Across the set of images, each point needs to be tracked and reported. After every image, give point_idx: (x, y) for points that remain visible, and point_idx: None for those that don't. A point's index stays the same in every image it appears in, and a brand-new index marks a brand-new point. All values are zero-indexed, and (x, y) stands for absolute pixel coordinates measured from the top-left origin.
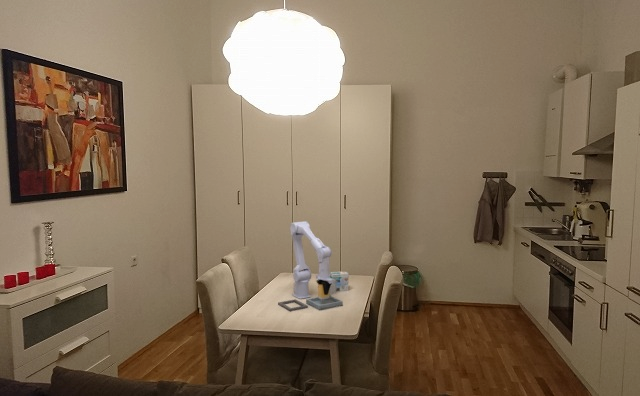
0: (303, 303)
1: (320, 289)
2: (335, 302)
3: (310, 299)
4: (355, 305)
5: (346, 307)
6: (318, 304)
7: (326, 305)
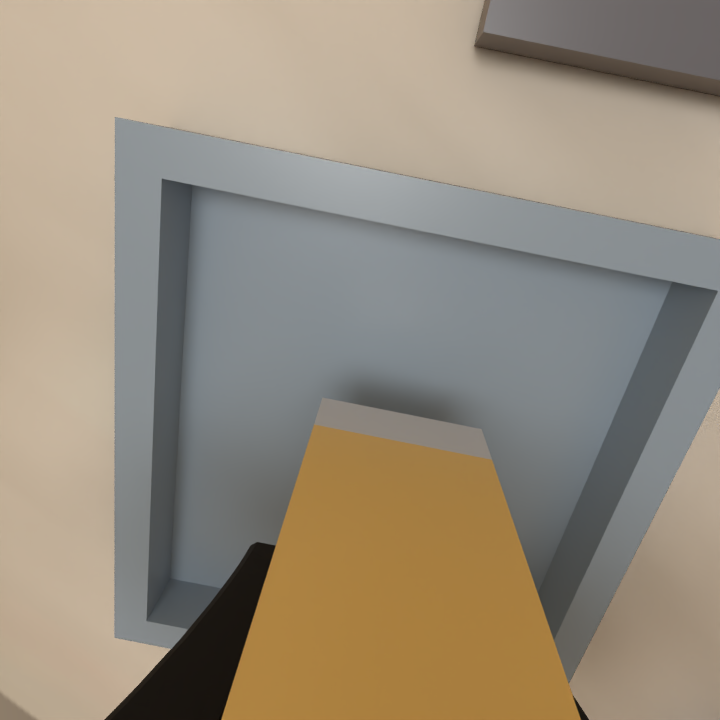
0: (709, 78)
1: (358, 626)
2: (123, 525)
3: (687, 339)
4: (66, 673)
5: (56, 558)
6: (222, 183)
7: (127, 317)
